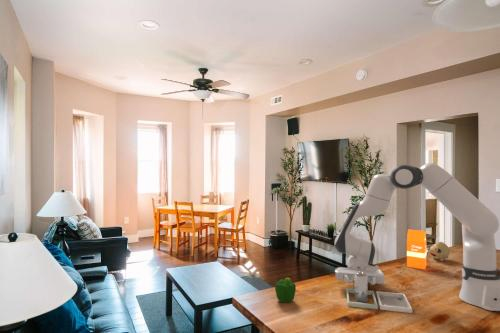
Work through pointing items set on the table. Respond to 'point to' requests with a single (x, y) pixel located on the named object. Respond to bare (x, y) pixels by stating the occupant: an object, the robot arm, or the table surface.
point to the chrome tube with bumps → (361, 287)
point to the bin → (362, 305)
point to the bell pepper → (285, 290)
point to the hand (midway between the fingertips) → (360, 282)
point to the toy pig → (439, 251)
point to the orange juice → (416, 249)
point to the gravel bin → (393, 302)
